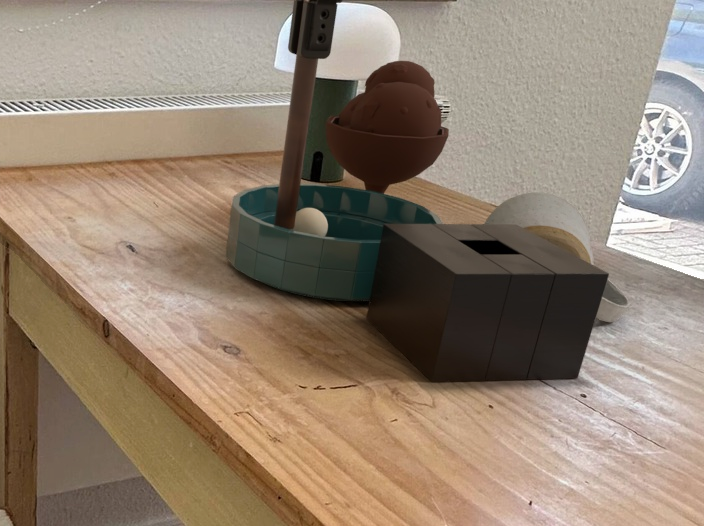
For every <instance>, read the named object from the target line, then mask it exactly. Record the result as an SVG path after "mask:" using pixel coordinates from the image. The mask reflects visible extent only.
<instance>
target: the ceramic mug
mask: <svg viewBox="0 0 704 526" xmlns="http://www.w3.org/2000/svg"><path fill="white" fill-rule="evenodd" d="M483 224H516V225H518V226H520V227H522V228H524V229H526V230H528V231H530V232H532V233H533V234H535V235H537V236H539V237H541V238H543V239H545V240H547V241H549V242H550V243H552V244H554V245H556V246H558V247H560V248H562V249H564V250H566V251H567V252H569V253H571V254H573V255H575V256H577V257H579V258H581V259H582V260H584V261H586V262H588V263H590V264H592V265H594V253H593V250H592V245H591V238H590V237H591V236H590V231H589V227H588V224H587V222H586V220H585V218H584V216H583V215H582V213H581V212H580V210H579V209H578V208H577V207H576V206H575V205H574V204H573V203H571V202H570V201H568V200H567V199H565V198H563V197H562V196H559V195H556V194H553V193H549V192H525V193H520V194H518V195H515V196H513V197H510V198H508V199H506V200H505V201H503V202H502V203H500V204H499V205H497V206H496V207H495V209H493V210H492V212H491V213H490V214H489V215H488V217H487V218H486V220H485V222H484V223H483ZM629 308H630V300H629V299H628V297H627V296H626V294H625V293H624V292H623V291H622V290H621V289H620V288H619V286H617V285H616V284H615V283H613V282H612V281H611V280H610V279H609V278H608V280H607V283H606V286H605V289H604V293H603V296H602V299H601V303H600V306H599V309H598V312H597V316H596V319H597V320H599V321H602V322H606V323H615V322H617V321H618V320H619V319H620V318H621V317H622V316H623V315H624V314H625V313H626V312H627V311H628V310H629Z"/></svg>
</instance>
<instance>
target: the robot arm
mask: <svg viewBox="0 0 704 526" xmlns="http://www.w3.org/2000/svg"><path fill="white" fill-rule="evenodd" d="M306 1H307V2H304V0H293V5H292V14H291V21H290V28H289V38H288V44H287V45H288V46H287V50H288V51H289V53H291V54H293V55H296V54H297V47H298V54H299V55H300V56H301V57H304V58H310V59H318V60H326V59H327V58H328V57H330V55H331V53H332V45H333V39H334V30H335V25H336V17H337V10H338V4H341V3H342V2H343V0H306ZM303 2H304V8H303ZM309 2H311V3H309ZM302 9H303V16H302ZM301 17H302V23H301ZM300 24H301V31H300ZM299 32H300V38H299ZM298 39H299V46H298Z"/></svg>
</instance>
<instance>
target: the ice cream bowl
mask: <svg viewBox="0 0 704 526" xmlns="http://www.w3.org/2000/svg"><path fill="white" fill-rule="evenodd" d="M435 83H436V82H435V79H434V77H432V76H431V74H430V72H429V71H428V70H427V69H426V68H425V67H424V66H423V65H420V64H418V63H416V62H414V61H410V60H393V61H391V62H387V63H386V64H383V65H381V66H380V67H378V68H377V69H375V70H374V71H373V72H371V73H370V75H369V76H368V77H367V79H366V80H365V83H364V87H365V89H364V92H361V93H359V94H357V95H356V96H354V97H353V98H352V99H350V100H349V101H348V102H347V104H346V105H345V106H344V107H343V109H342V110H341V111H340V113H339V114H337V115H336V114H335V115H330V116H329V117H328V118H327V119H326V120H325V139H326V142H327V146H328V149H329V152H330V154H331V155H332V157H333V158H334V159H335V161H336V162H337V163H338V165H339V166H340V167H341V168H342V169H343V170H344V171H346V172H347V173H348V175H350V176H352V177H354V178H356V179H358V180H360V181H361V182H363V184H364V188H365V189H364V190H369V191H373V192H378V193H382V194H385V193H386V190H388V188H389V186H391V185H397V184H400V183H403V182H406V181H409V180H411V179H413V178H416V177H417V176H419V175H420V174H422V173H423V172H424V171H426V170H428V169H429V168H430V167H431V166H433V165H434V163H436V161H437V159H438V158H439V157H440V155H441V154H442V152H443V150H444V148H445V145H446V143H447V140H448V138H449V136H450V133H449V132H450V129H449V128H448V127H446V126H445V127H444V126H442V109H441V108H440V105H438V102H437V100H436V99H435Z"/></svg>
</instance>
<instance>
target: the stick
mask: <svg viewBox="0 0 704 526" xmlns="http://www.w3.org/2000/svg"><path fill="white" fill-rule="evenodd" d="M304 2H307V1H306V0H304ZM304 2H303V8H304ZM309 3H311V2H309ZM302 16H303V9H302ZM301 23H302V17H301ZM300 31H301V24H300ZM299 38H300V32H299ZM298 46H299V39H298ZM318 64H319V59H310V58H304V57H301V56H300V55H299V54H298V47H297V54H295V61H294V70H293V76H292V77H293V78H292V84H291V93H290V101H289V108H288V114H287V122H286V130H285V136H284V137H285V139H284V146H283V153H282V161H281V169H280V175H279V183H278V184H279V190H278V198H277V205H276V213H275V220H274V225H276V226H279V227H282V228H286V229H293V228H294V226H295V219H296V212H297V205H298V198H299V191H300V184H302V183H301V182H302V176H303V169H304V163H305V155H306V147H307V140H308V135H309V134H308V133H309V128H310V121H311V120H310V119H311V113H312V106H313V100H314V91H315V86H316V80H317V79H316V78H317V71H318Z"/></svg>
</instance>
